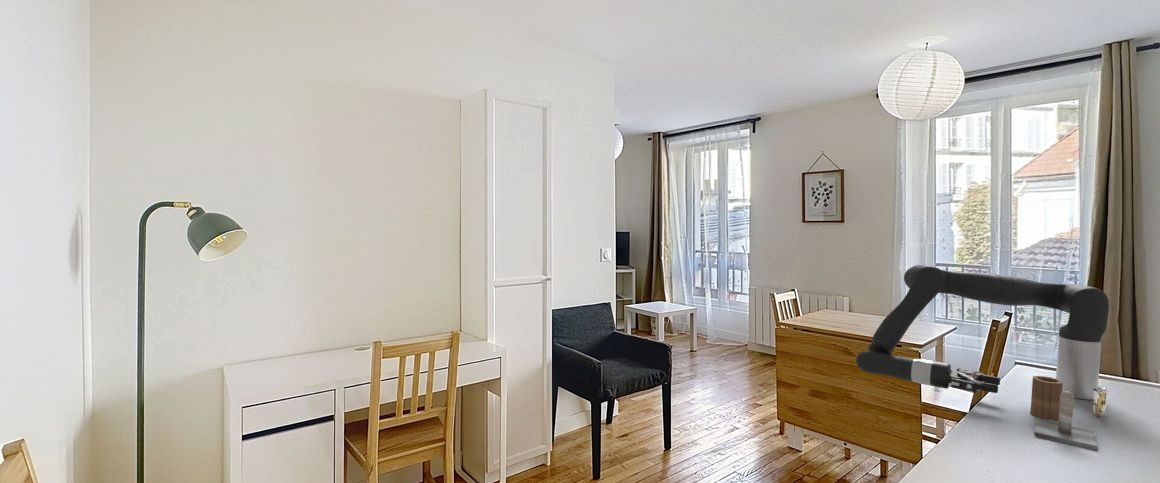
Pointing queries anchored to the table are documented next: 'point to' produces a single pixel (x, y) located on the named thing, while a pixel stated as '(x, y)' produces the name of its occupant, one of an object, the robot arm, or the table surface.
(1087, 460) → the table surface
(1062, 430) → the grey post stand
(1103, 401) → the ring
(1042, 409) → the wooden slatted cup
